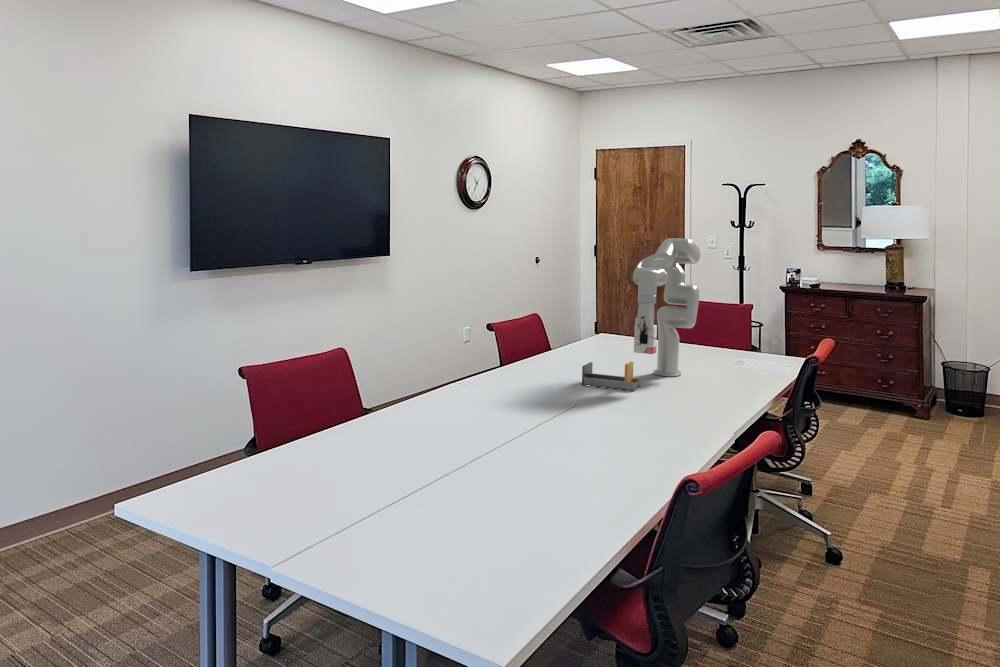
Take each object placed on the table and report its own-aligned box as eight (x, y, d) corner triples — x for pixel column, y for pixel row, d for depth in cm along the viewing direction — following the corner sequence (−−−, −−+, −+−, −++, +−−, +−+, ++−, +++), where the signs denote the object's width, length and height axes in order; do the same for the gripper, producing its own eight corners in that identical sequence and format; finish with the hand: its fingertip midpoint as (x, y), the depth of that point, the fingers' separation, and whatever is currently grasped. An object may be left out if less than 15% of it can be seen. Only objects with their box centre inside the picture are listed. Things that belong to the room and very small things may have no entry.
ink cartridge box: (656, 352, 313) (658, 317, 311) (653, 354, 309) (654, 319, 306) (636, 350, 317) (638, 316, 315) (633, 352, 313) (634, 317, 310)
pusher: (629, 384, 322) (630, 361, 320) (632, 384, 321) (633, 361, 320) (624, 387, 316) (624, 364, 314) (627, 388, 315) (628, 364, 313)
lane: (589, 380, 331) (590, 362, 330) (640, 386, 321) (641, 367, 320) (581, 385, 323) (582, 366, 321) (633, 391, 312) (634, 371, 311)
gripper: (644, 297, 318) (642, 339, 321) (632, 300, 303) (630, 344, 306) (661, 297, 315) (659, 340, 318) (650, 302, 300) (648, 346, 303)
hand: (645, 342), depth 312 cm, fingers closed on ink cartridge box, 5 cm apart
